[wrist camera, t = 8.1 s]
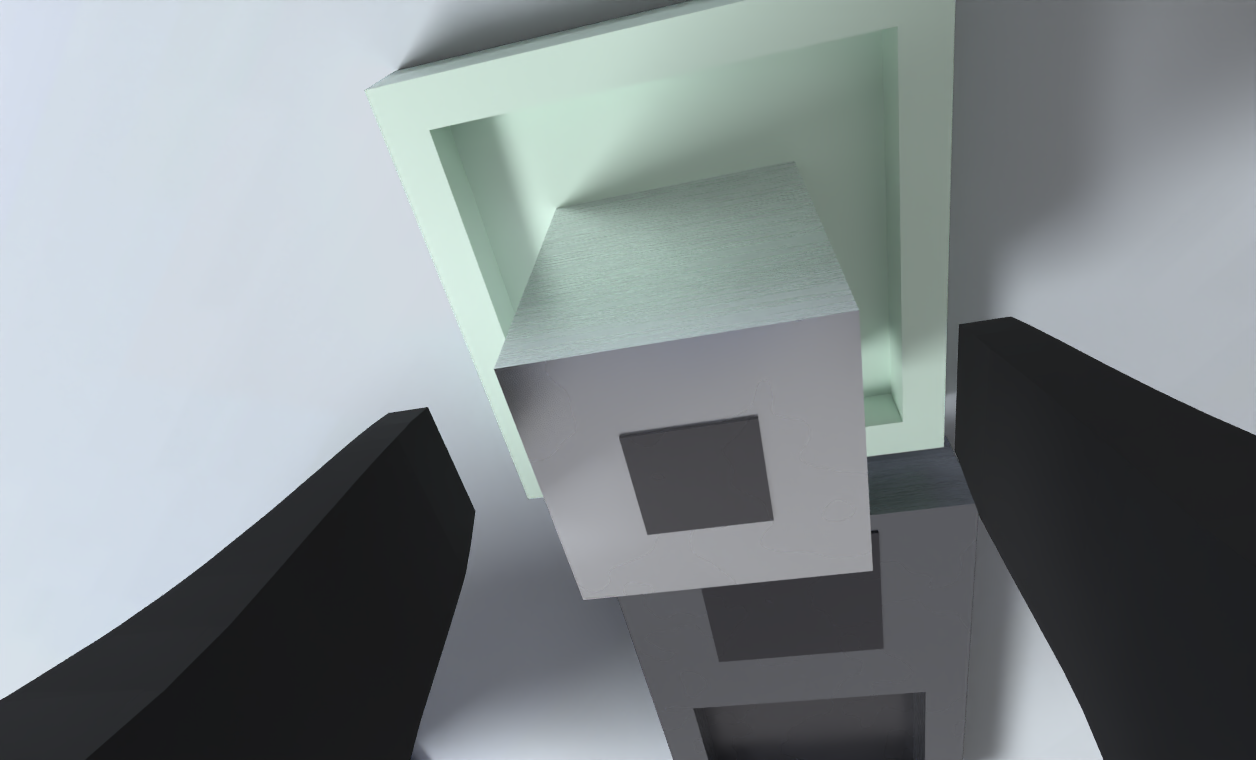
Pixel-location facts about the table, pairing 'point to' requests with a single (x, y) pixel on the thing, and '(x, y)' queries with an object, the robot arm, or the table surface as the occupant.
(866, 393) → the tray
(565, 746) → the table surface
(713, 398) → the cube with square inset
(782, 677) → the plate with square cutouts
